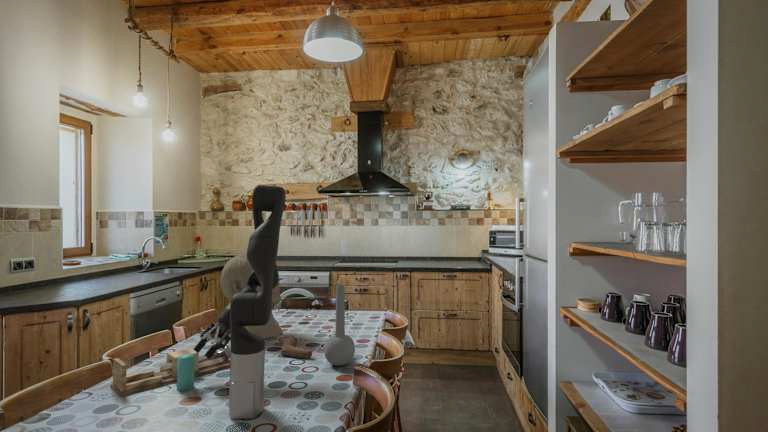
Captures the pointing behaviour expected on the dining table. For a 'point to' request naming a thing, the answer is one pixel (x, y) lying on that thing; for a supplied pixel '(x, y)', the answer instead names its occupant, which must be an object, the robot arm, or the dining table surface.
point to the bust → (234, 283)
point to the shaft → (203, 358)
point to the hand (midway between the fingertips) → (201, 354)
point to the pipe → (294, 349)
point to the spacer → (185, 372)
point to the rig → (159, 373)
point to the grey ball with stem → (339, 335)
